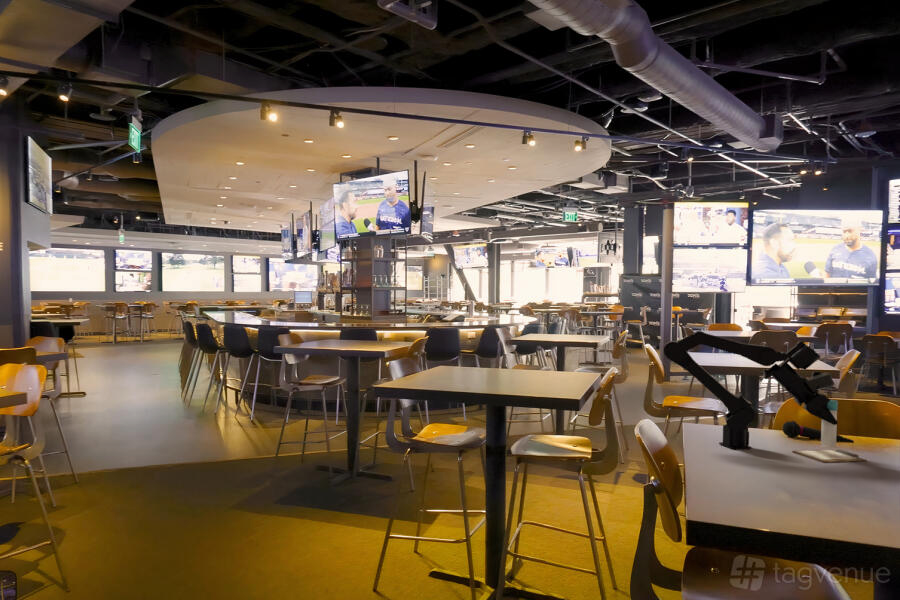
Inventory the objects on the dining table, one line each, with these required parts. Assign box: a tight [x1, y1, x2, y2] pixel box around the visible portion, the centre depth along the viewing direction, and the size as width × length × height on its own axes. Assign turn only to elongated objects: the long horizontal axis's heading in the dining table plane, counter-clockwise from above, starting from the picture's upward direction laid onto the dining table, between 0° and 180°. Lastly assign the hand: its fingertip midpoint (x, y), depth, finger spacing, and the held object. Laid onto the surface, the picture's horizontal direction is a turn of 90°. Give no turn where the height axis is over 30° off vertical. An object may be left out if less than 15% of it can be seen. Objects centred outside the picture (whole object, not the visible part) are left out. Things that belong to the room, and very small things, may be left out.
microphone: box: [782, 420, 854, 443], centre depth 184 cm, size 6×6×20 cm
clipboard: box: [791, 449, 868, 464], centre depth 162 cm, size 14×11×1 cm
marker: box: [820, 399, 839, 449], centre depth 162 cm, size 4×4×13 cm
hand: (834, 422), depth 162 cm, fingers closed on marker, 4 cm apart
